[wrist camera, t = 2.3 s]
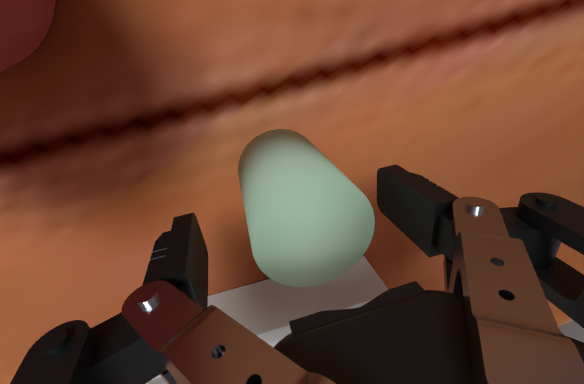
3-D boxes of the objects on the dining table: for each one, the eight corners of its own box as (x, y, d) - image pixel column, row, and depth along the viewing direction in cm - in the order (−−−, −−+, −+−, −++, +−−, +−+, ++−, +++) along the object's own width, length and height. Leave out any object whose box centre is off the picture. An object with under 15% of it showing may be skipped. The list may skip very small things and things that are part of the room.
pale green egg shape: (314, 121, 16) (374, 165, 10) (321, 195, 18) (374, 268, 12) (229, 138, 15) (237, 197, 9) (248, 213, 18) (265, 300, 11)
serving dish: (361, 252, 21) (391, 293, 18) (365, 357, 27) (387, 403, 24) (138, 315, 19) (120, 377, 15) (196, 414, 25) (193, 474, 21)
